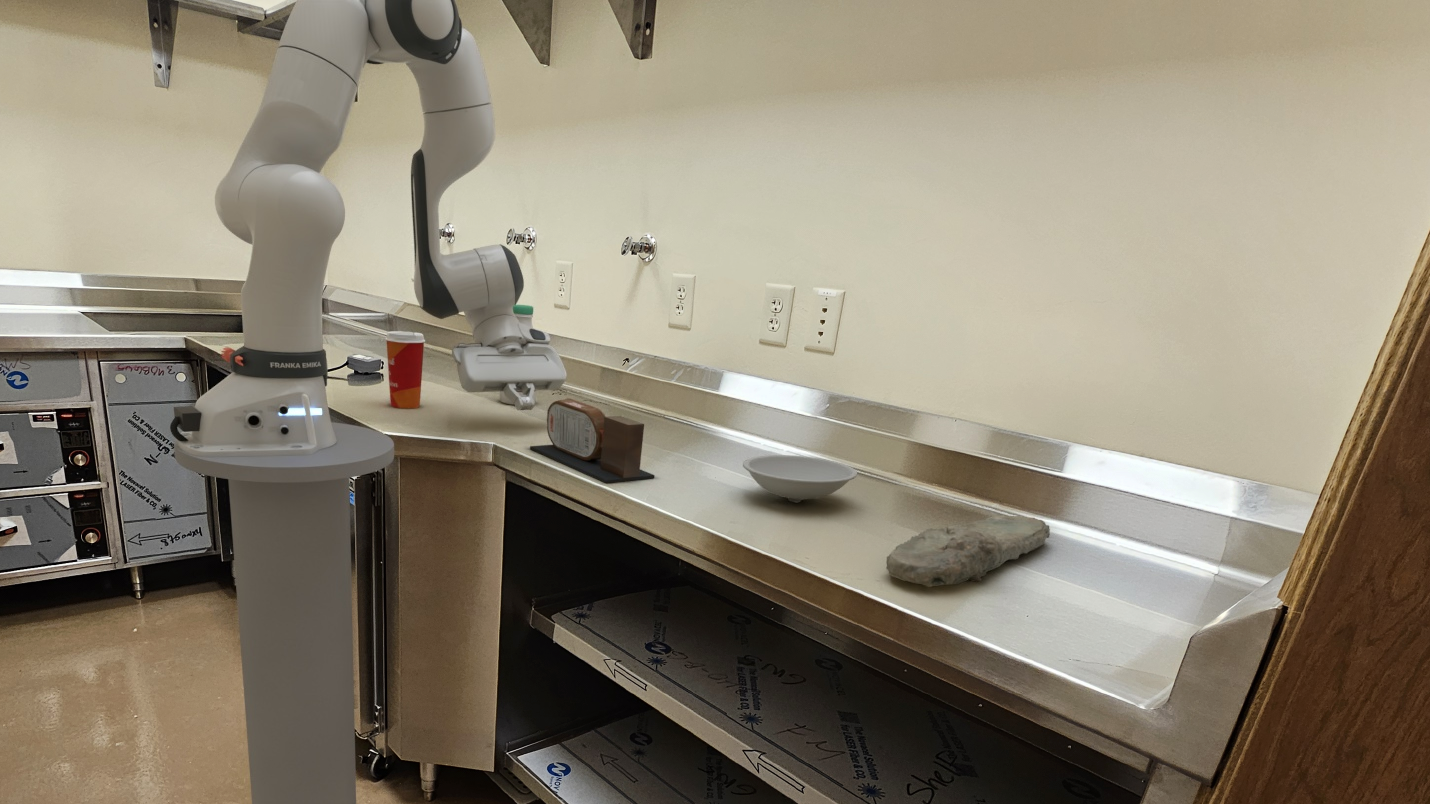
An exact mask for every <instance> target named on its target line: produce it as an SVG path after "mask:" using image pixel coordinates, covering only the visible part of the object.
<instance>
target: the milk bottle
mask: <svg viewBox="0 0 1430 804" xmlns="http://www.w3.org/2000/svg"><path fill="white" fill-rule="evenodd" d="M513 312H514V315H515V316H516V318H517V319H518V320H519V323H522V324H524V325H526V326H528V327H531V328H534V327H533V321H532V320H533V318H534V306H532V305H528V304H516V305H514V306H513ZM516 392H517V393H518V394H519V395H520V396H521V397H526V395H523V393H522V391H516ZM533 400H534V403H535V404H536V401H537V390H534V393H533ZM499 401H500V402H501V403H503V404H506V405H507V404H508V405H514V406H515V404H514V403H513V402H512V401H511V400H510V399H509V398H507V397H506V396H505V393H504V391H500V392H499Z"/></svg>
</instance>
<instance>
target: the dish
mask: <svg viewBox="0 0 1430 804" xmlns="http://www.w3.org/2000/svg"><path fill="white" fill-rule="evenodd" d="M742 467H743V468H744V469H745V470H746V471H748V473H749V474H750V476H751V477H752V478H753V480H754V481H755V482H756V483H757V485H758V486H760V487H761V489H763V490H764V491H767V492H768V493H770V494H773V495H775V496H779V497H782V498H786V499H788V502H789V501H790V502H792V503H800V502H801V501H802V500H813V499H819V498H824V497H827V496H829V495H831V494H833V493H835V492H837V491H839V490H840V489H842V488H843V487H844V486H845V485H847V483H848V482H849V481H852V480H854V479H855V478H857V476H858V472H857V470H856V469H855V468H854V467H851V466H850V465H847V464H845V463H841V462H838V461H834V460H830V459H824V458H820V457H813V456H806V455H805V456H803V455H791V454H772V455H771V454H770V455H769V454H768V455H759V456H754V457H749V458H747V459H745V460H744V461H743V462H742Z"/></svg>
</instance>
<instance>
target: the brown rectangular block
mask: <svg viewBox="0 0 1430 804" xmlns="http://www.w3.org/2000/svg"><path fill="white" fill-rule="evenodd" d="M644 429H645V423H643V422H639V421H636V420H634V419H630V418H628V417H625V416H622V415H613V416H611V415H609V416H606V417H604V428H603V440H602V452H601V464H600V469H603V470H605V471H607V472H610V473H612V474H615V475H617V476H619V477H622V478H631V477H639V472H640V469H641V461H642V453H643V452H642V450H643V441H644V432H645V430H644Z"/></svg>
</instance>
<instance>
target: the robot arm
mask: <svg viewBox="0 0 1430 804" xmlns="http://www.w3.org/2000/svg"><path fill="white" fill-rule="evenodd" d="M366 64H369V65H383V64H405V65H406V66H407V68H408V69H409V70H410V72H411V73H412V75H413V77H414V79H415V81H416V84H417V87H418V92H419V101H420V105H421V110H422V116H423V127H424V130H423V137H422V141H421V144H420V148H418V150H417V151H415V152H414V153H413V155H412V159H411V164H410V165H411V166H410V188H411V189H410V194H411V195H410V196H411V214H412V215H411V217H412V231H413V232H412V233H413V251H414V274H413V289H414V294H415V298H416V300H417V303H418V304H419V307H420V309H421V310H422V311H424V312H425V313H427V314H428V315H430V316H432V317H435V318H437V319H440V320H444V319H447V318H449V317H454V316H455V315H458V314H460V313H463V314H464V316H465V319H466V321H467V323H468V324H469V326H470V327H471V329H472V338H473V340H474V342H470V343H465V342H458V343H457V344H456V345H454V346H453V347H452V349H451V355H452V358H453V360H454V362H455V363H456V368H457V369H456V370H457V374H458V379H459V383H460V385H461V388H462V389H463V390H464V391H466V393H496V392H497V393H498V392H499V393H500V391H504V393H505V396H506V397H507V398H509V399H510V400H511V401H512V402H513V403H514V404H515V405H514V406H515V408H516V411H532V410H533V409H534V408H535V406H536V402H535V403H534V400H533V393H534V390H536V391H558V390H560V389H561V387H562V386H563V385H564V384H565V382H566V380H567V376H568V374H567V370H566V368H565V365H564V363H563V361H562V359H561V357H560V355H559V353H558V352H557V349H555V347H553V346H552V345H550V343H551V336H550V334H549V333H548V332H546V331H543V330H541V329H540V330H539V329H536V328H534V327H533V328H531V327H528V326H526V325H524V324H522V323H519V320H518V319H517V318H516V316H515V315H514V312H513V306H514V305H517V304H518V302H519V300H520V298H521V295H522V293H523V291H524V287H525V281H524V275H523V273H522V269H521V267H520V264H519V261H518V259H517V256H516V255H515V253H513V251H512V250H510V248H508V247H506V246H505V245H503V244H501V243H500V244H490V245H485V246H480V247H475V248H473V249H469V250H464V251H459V252H453V253H449V254H443V253H441V240H440V239H441V238H440V237H441V236H440V218H439V216H440V215H439V209H440V208H439V206H440V201H441V198H442V196H443V194H444V193H445V192H446V190H448V188H450V186H452V184H454V183H455V182H457V181H458V180H459V179H461V178H463V177H464V176H465V175H467V174H469V173H471V172H472V171H473V170H474V169H476V168H477V167H478V166H479V165H480V164H482V162H484V160H486V158H487V157H488V156H489V154H490V152H491V151H492V150H493V146H494V144H495V140H496V120H495V119H496V118H495V113H494V107H493V101H492V100H493V99H492V93H491V89H490V85H489V81H488V76H487V73H486V69H485V66H484V62H483V59H482V56H481V53H480V50H479V46H478V44H477V41H476V39H475V36H473V34H472V33H471V32H470V31H469V30H467V29H466V28H464V27H463V23H462V20H461V17H460V14H459V9H458V6H457V3H456V0H296V1H295V4H294V5H293V8H292V9H291V11H290V13H289V17H288V19H287V21H286V23H285V25H284V28H283V31H282V34H281V36H280V39H279V43H278V46H277V50H276V52H275V56H274V60H273V63H272V66H271V69H270V72H269V75H268V80H267V83H266V87H265V89H264V93H263V96H262V99H261V103H260V105H259V107H258V110H257V113H256V114H255V117H254V119H253V121H252V124H251V125H250V128H249V130H248V131H247V133H246V134H245V137H244V139H243V140H242V143H241V145H240V147H239V149H238V151H237V153H236V155H235V158H234V159H233V161H232V164H231V165H230V168H229V170H228V172H227V173H226V174H225V176H223V178H222V179H221V180H220V181H219V182H218V185H217V187H216V190H215V194H214V207H215V211H216V214H217V216H218V218H219V220H220V222H221V223H222V225H223V227H225V228H226V229H227V230H228V231H229V232H230V233H231V234H233V235H234V236H235V237H237V238H238V239H240V240H242V241H243V242H245V243H247V244H249V245H252V246H251V252H250V253H251V255H250V261H249V267H248V272H247V276H246V279H245V281H244V283H243V285H242V287H241V291H240V302H241V303H240V304H241V318H242V319H241V320H242V321H241V322H242V336H243V345H242V346H240V347H239V348H237V349H233V348H232V347H229V346H226V347H224V348H222V350H220V351H221V353H220V356H221V358H222V359H223V360H224V361H226V362H227V363H229V364H230V371H231V373H230V374H228V376H226V377H224V379H222V380H221V381H220V382H218V383H217V384H216V385H215V386H213V387H211V389H209V390H207V391H206V392H205V393H203V394H202V395H201V396H200V397H199V398H198V399H197V400H196V402H195V404H194V406H192V405H186V406H185V405H183V406H173V416H174V417H173V419H172V420H171V422H170V425H169V428H170V433H171V434H172V436H173V437H174V438H175V440H176V439H177V445H178V446H179V448H180V449H181V450H183V451H184V452H186V453H189V454H191V455H195V456H199V457H250V456H297V455H312V454H314V453H316V452H317V451H318V450H321V449H324V448H327V447H330V446H332V445H334V444H335V443H336V442H337V439H336V437H335V434H334V430H333V427H332V423H331V422H332V419H331V415H330V409H329V404H328V397H327V389H326V387H327V386H328V377H329V375H328V374H329V372H328V370H329V369H328V367H329V366H328V359H327V351H326V349H325V348H324V339H323V293H324V285H325V278H326V275H327V268H328V265H329V261H330V260H329V259H330V255H331V251H332V248H333V245H334V243H335V241H336V240H337V238H338V237H339V236H340V234H341V232H342V230H343V228H344V225H345V220H346V209H345V203H344V199H343V197H342V194H341V192H340V191H339V189H338V187H337V186H336V185H335V184H334V183H333V181H331V180H330V179H329V178H328V177H326V176H325V175H324V174H322V173H321V172H322V170H323V168H324V167H325V165H326V164H327V162H328V160H329V159H330V158H331V156H333V154H335V152H336V151H338V149H339V147H340V146H341V144H342V143H343V139H344V136H345V132H346V129H347V125H348V123H349V119H350V116H351V113H352V109H353V106H354V103H355V99H356V96H357V93H358V90H359V89H358V88H359V85H360V82H361V78H362V73H363V69H364V67H365V65H366ZM516 391H522V393H523V395H526V397H521V396H520V395H519V394H518V393H517V392H516ZM179 429H180V430H181V432H180V431H179Z"/></svg>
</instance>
